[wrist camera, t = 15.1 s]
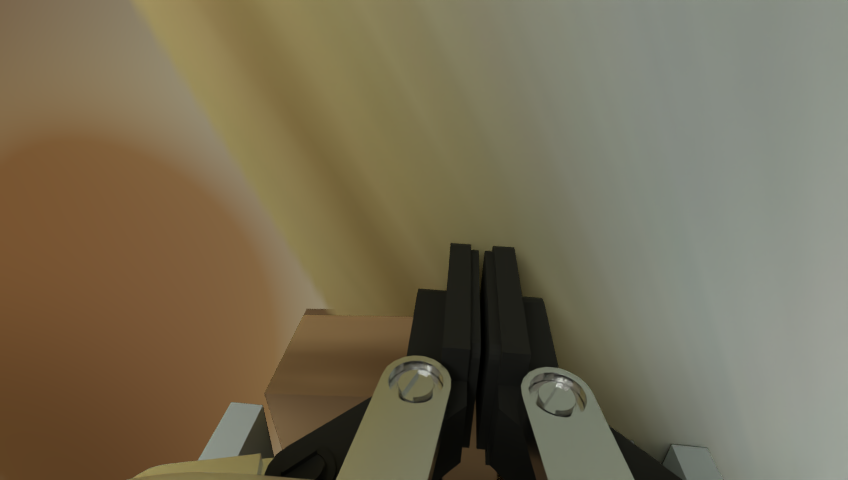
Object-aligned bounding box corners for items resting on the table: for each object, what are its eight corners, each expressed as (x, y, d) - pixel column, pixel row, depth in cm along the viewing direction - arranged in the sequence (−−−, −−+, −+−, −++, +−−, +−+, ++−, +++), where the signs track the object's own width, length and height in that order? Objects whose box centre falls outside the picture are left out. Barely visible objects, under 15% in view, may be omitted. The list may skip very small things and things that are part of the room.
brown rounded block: (306, 308, 15) (264, 393, 12) (493, 311, 14) (499, 401, 11) (351, 506, 20) (330, 598, 17) (488, 514, 19) (491, 612, 16)
